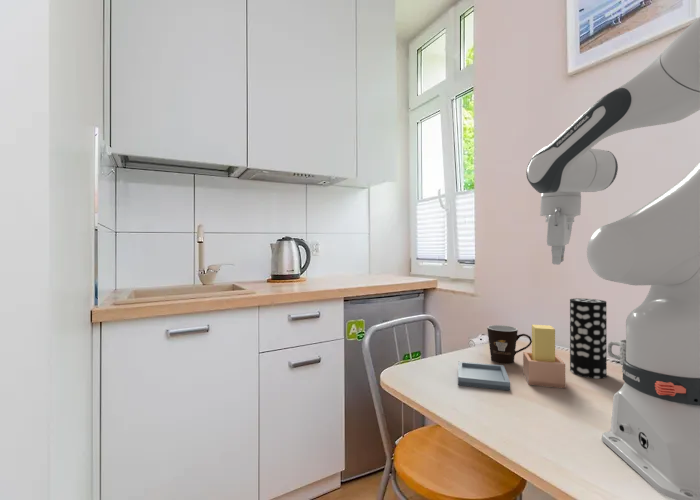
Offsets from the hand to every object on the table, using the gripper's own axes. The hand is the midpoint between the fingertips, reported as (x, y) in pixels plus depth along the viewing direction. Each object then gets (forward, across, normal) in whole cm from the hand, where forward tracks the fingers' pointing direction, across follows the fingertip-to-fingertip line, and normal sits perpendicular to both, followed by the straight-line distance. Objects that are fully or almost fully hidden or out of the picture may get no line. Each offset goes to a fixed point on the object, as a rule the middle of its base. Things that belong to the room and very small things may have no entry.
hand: (558, 263), depth 90 cm
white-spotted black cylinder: (+31, +11, -7) cm, 34 cm away
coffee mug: (+32, +9, +13) cm, 35 cm away
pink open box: (+31, -2, +2) cm, 31 cm away
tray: (+31, -10, +16) cm, 36 cm away
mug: (+31, +27, -17) cm, 45 cm away
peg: (+30, -2, +2) cm, 30 cm away
